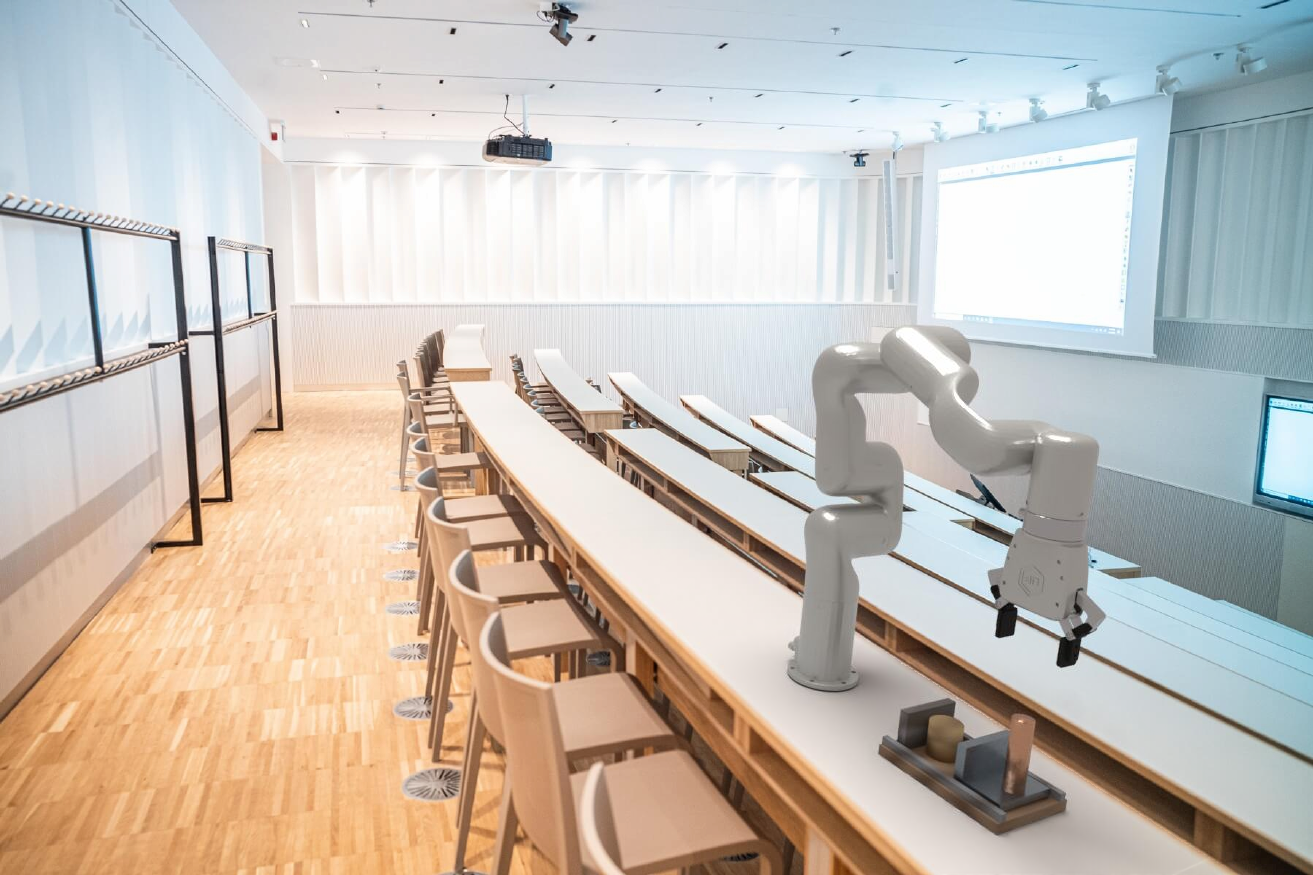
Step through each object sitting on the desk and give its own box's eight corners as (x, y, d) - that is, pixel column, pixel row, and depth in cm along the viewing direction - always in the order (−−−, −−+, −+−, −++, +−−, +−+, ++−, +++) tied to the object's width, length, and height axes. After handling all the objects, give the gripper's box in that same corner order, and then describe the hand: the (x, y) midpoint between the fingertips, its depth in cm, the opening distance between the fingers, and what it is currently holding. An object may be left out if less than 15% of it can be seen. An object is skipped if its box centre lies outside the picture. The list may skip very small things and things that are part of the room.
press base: (878, 753, 138) (883, 707, 136) (944, 735, 145) (950, 691, 143) (996, 834, 119) (1003, 782, 118) (1065, 809, 126) (1073, 759, 125)
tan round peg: (918, 749, 137) (922, 718, 136) (941, 742, 139) (946, 712, 138) (943, 765, 132) (947, 733, 132) (967, 758, 135) (971, 727, 134)
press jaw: (952, 782, 128) (963, 706, 126) (1001, 767, 133) (1012, 693, 131) (999, 813, 121) (1010, 732, 119) (1048, 796, 126) (1060, 718, 124)
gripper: (980, 510, 124) (963, 629, 127) (1095, 549, 109) (1073, 682, 112) (1018, 507, 127) (1000, 622, 131) (1134, 544, 113) (1111, 673, 116)
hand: (1034, 650), depth 121 cm, fingers open, 9 cm apart
